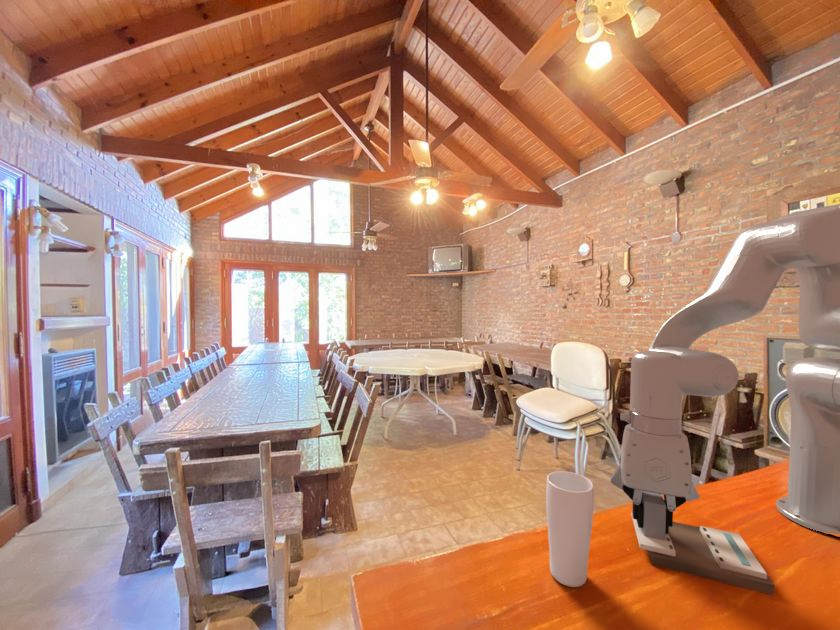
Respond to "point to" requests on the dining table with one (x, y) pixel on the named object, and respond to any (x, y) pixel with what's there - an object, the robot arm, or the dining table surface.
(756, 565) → the board
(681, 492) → the robot arm
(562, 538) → the drinking glass
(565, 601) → the dining table surface
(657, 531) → the stub
